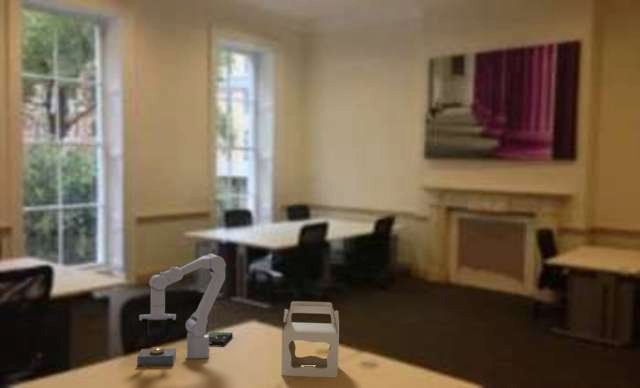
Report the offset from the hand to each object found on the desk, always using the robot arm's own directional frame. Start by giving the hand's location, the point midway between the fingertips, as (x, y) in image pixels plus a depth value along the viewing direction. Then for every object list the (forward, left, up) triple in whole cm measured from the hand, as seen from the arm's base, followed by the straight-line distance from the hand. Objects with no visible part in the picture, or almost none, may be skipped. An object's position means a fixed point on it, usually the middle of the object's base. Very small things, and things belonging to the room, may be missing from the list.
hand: (157, 337), depth 245 cm
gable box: (-62, +16, -11) cm, 65 cm away
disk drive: (-23, -28, -11) cm, 38 cm away
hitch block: (0, +1, -10) cm, 10 cm away
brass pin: (0, +1, -10) cm, 10 cm away
